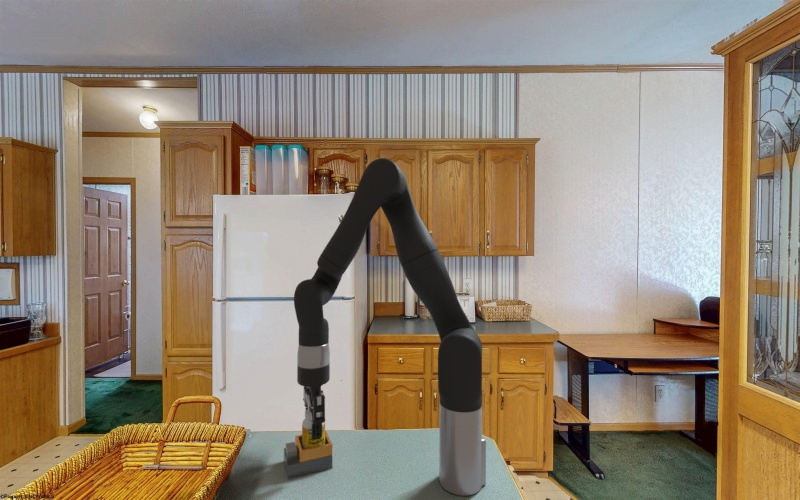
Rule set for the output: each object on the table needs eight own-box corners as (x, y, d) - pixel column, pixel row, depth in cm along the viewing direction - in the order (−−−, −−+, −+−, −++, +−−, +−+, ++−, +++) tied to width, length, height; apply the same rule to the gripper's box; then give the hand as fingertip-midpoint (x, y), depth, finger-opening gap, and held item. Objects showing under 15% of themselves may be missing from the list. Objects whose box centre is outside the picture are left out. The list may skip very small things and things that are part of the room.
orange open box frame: (325, 451, 90) (325, 429, 90) (332, 468, 83) (332, 444, 83) (283, 460, 86) (283, 438, 86) (287, 479, 79) (287, 454, 79)
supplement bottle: (320, 442, 89) (320, 403, 89) (328, 452, 84) (328, 411, 84) (299, 448, 86) (299, 408, 86) (306, 459, 81) (306, 417, 81)
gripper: (336, 368, 80) (336, 441, 80) (323, 352, 93) (322, 414, 93) (302, 373, 77) (301, 448, 77) (293, 355, 90) (293, 420, 90)
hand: (313, 430), depth 85 cm, fingers open, 8 cm apart
